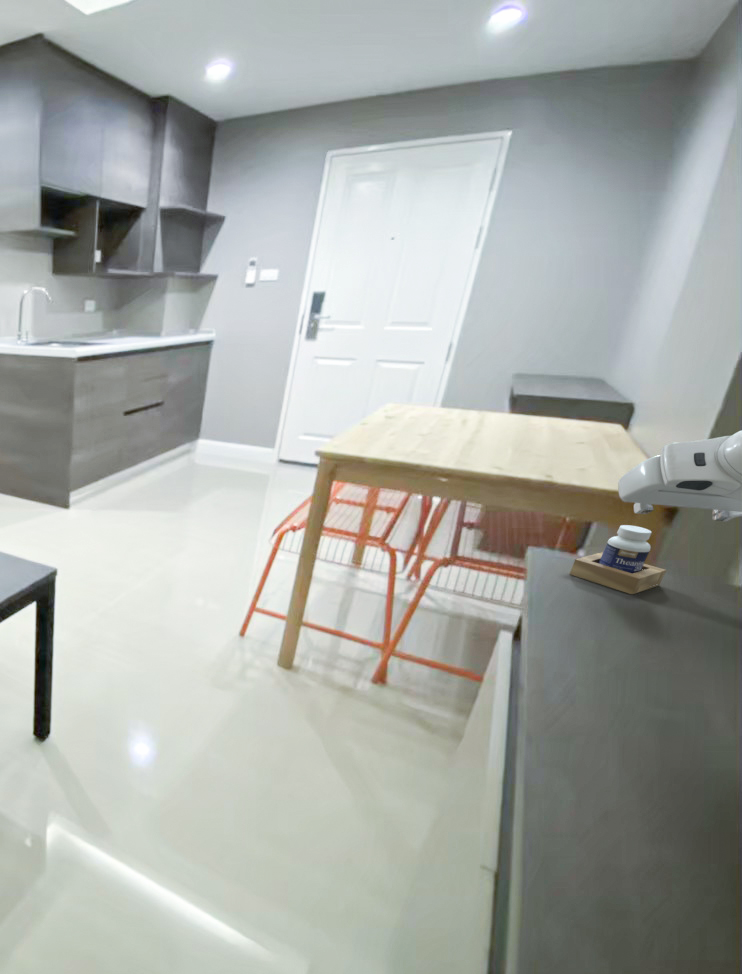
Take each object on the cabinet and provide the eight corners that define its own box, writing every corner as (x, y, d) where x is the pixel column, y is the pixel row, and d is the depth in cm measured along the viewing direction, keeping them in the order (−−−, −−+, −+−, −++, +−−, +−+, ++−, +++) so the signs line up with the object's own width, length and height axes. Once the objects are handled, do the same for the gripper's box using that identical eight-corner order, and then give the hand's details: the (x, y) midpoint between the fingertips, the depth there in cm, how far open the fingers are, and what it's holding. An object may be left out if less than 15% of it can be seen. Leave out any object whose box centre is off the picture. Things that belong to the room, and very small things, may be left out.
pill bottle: (605, 584, 106) (627, 532, 103) (586, 572, 111) (607, 522, 107) (642, 587, 105) (666, 535, 101) (621, 575, 110) (643, 525, 106)
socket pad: (596, 566, 114) (602, 551, 112) (659, 585, 106) (666, 570, 105) (569, 574, 110) (575, 559, 109) (631, 594, 103) (639, 578, 102)
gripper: (852, 454, 80) (765, 503, 93) (652, 442, 88) (596, 489, 100) (862, 495, 78) (771, 540, 90) (656, 480, 85) (598, 523, 98)
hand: (678, 513), depth 95 cm, fingers open, 8 cm apart
